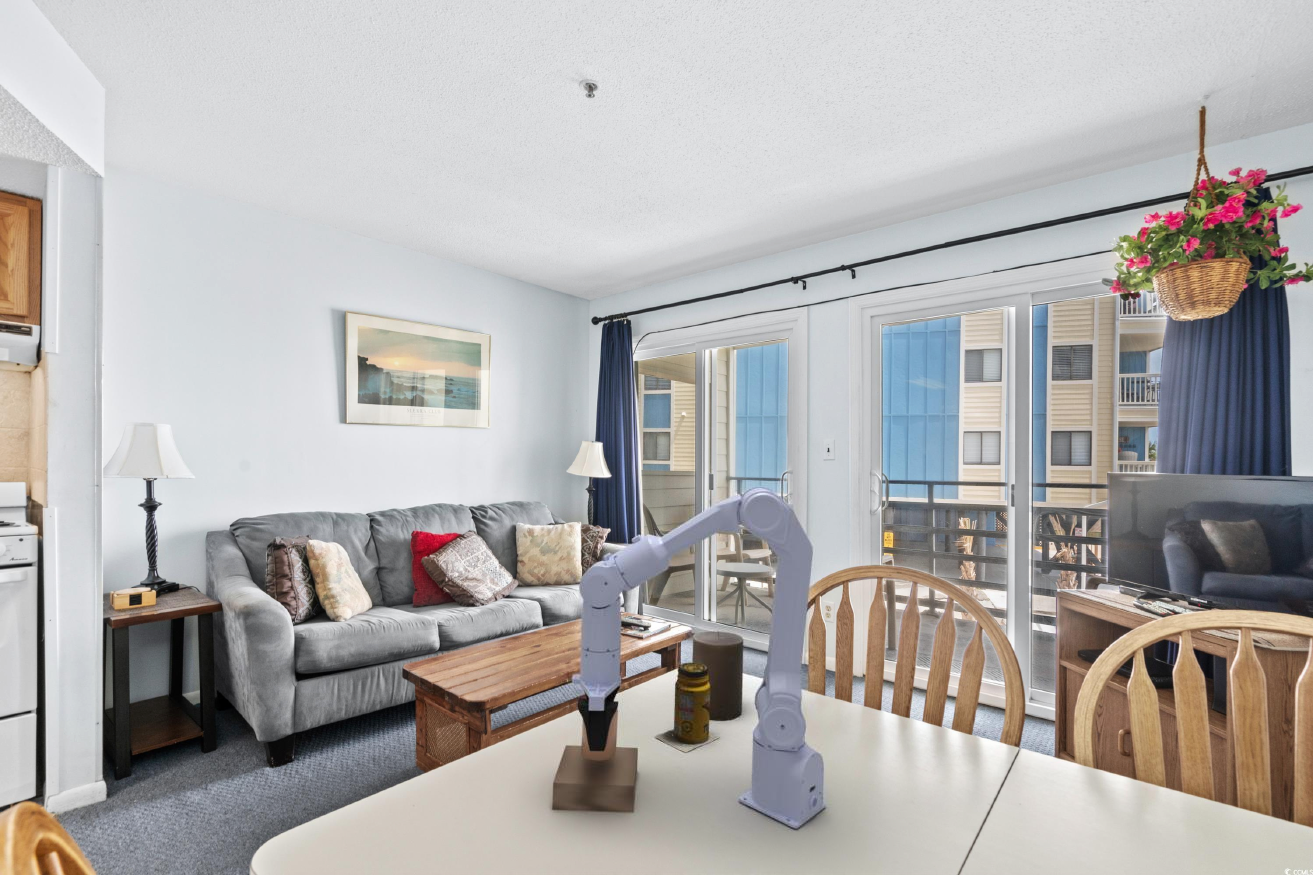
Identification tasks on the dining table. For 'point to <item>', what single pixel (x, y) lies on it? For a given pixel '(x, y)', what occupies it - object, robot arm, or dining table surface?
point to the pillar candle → (721, 671)
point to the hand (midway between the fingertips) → (598, 740)
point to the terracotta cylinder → (610, 745)
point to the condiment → (690, 709)
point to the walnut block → (596, 781)
